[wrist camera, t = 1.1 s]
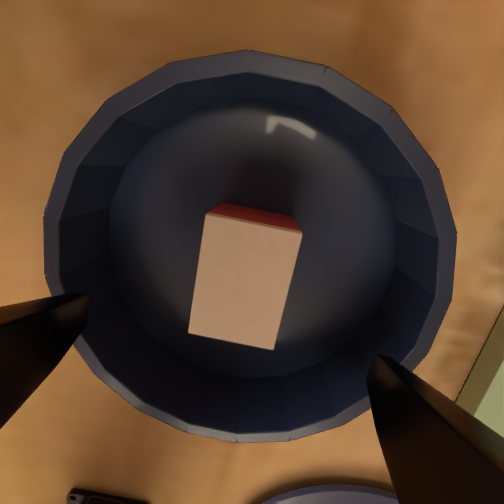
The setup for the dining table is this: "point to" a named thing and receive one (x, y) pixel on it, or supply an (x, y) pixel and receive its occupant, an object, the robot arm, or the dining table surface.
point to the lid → (335, 495)
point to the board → (487, 382)
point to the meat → (244, 274)
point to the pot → (261, 198)
